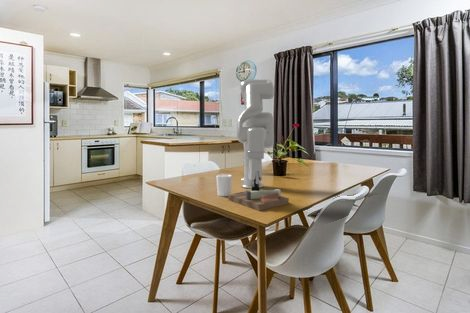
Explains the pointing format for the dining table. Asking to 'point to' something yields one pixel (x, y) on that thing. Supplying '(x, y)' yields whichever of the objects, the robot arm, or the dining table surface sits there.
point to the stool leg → (260, 193)
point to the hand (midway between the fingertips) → (255, 194)
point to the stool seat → (259, 200)
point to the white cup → (224, 184)
